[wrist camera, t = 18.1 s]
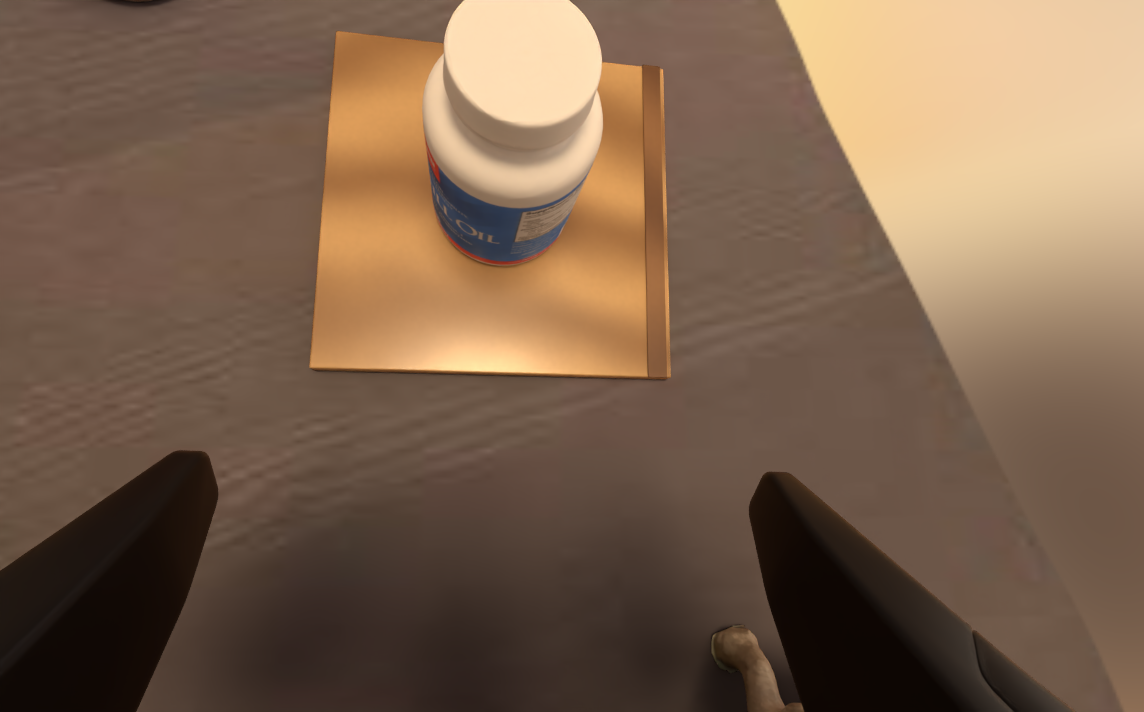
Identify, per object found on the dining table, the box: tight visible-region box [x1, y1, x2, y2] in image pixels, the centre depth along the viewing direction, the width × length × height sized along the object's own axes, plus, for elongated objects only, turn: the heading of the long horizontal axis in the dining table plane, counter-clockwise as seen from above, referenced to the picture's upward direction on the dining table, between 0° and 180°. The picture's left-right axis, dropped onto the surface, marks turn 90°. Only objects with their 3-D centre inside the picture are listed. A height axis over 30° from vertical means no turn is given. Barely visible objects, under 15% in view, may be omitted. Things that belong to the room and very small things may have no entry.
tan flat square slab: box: [309, 31, 671, 379], centre depth 24 cm, size 14×14×1 cm
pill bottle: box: [422, 0, 603, 266], centre depth 19 cm, size 6×5×10 cm
